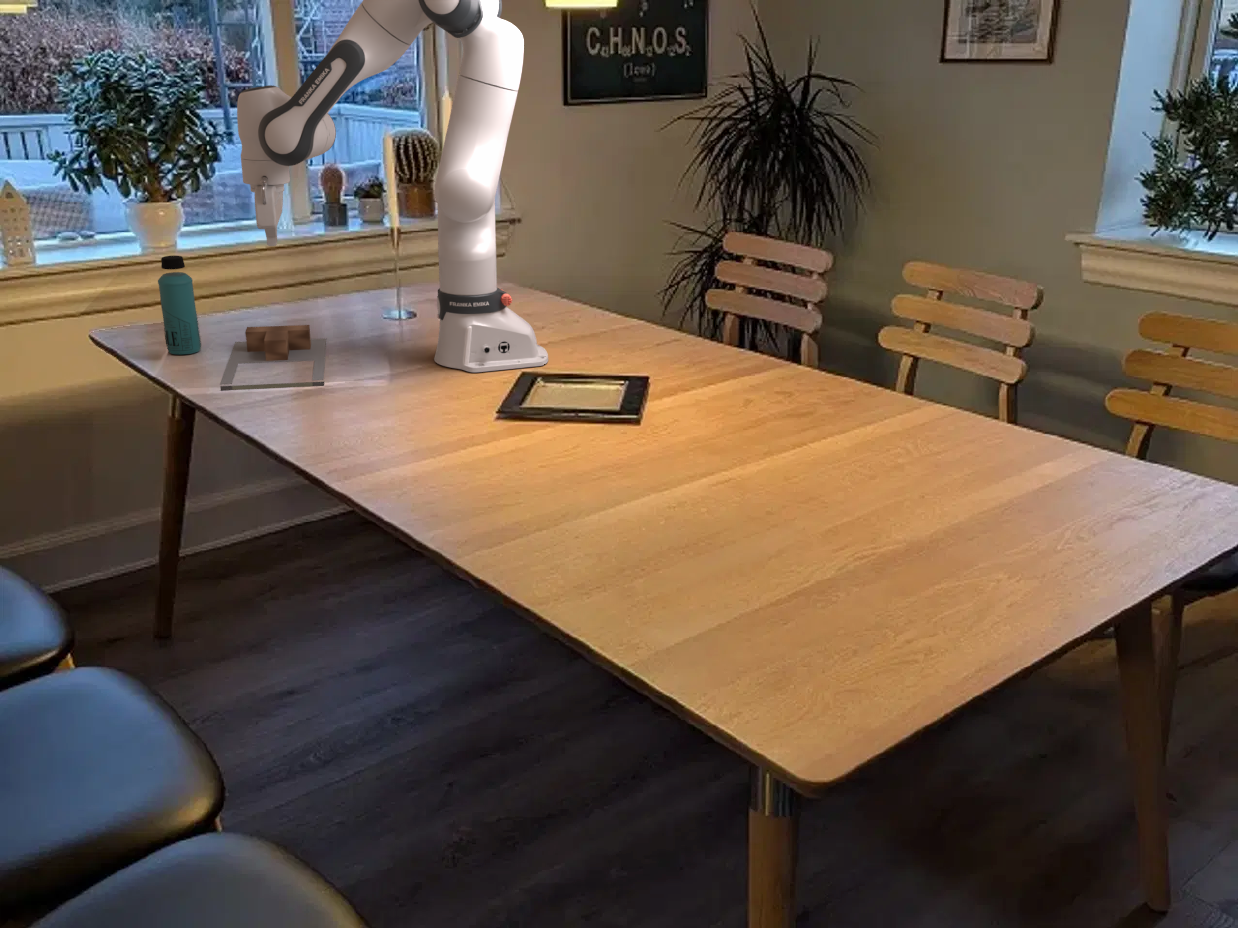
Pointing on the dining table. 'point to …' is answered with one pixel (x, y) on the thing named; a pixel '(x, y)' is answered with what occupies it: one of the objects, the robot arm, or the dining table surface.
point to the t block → (278, 340)
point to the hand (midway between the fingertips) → (272, 244)
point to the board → (242, 357)
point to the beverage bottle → (178, 308)
